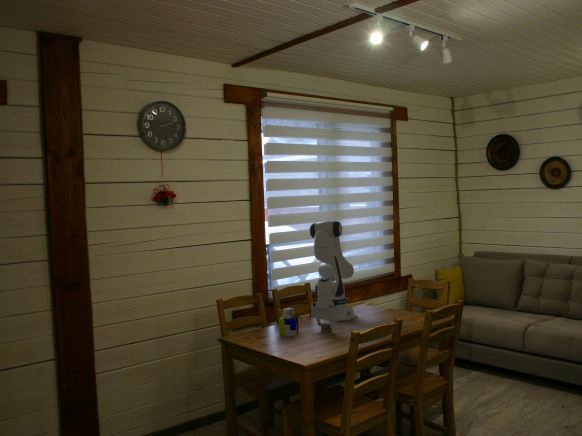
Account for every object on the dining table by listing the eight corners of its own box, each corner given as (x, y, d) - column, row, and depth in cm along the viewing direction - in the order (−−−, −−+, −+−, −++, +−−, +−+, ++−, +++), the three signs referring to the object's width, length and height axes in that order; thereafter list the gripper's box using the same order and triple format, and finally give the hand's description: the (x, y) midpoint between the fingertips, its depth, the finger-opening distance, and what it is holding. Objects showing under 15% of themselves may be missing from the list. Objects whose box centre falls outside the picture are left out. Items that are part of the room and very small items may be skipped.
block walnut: (325, 330, 324) (325, 322, 324) (331, 331, 321) (331, 323, 321) (321, 332, 321) (320, 324, 321) (326, 333, 318) (326, 325, 318)
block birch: (288, 316, 323) (288, 307, 322) (294, 317, 319) (293, 308, 319) (282, 317, 319) (282, 309, 319) (288, 318, 316) (288, 309, 315)
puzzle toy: (295, 336, 313) (295, 319, 313) (279, 335, 315) (278, 319, 315) (298, 332, 323) (298, 316, 323) (283, 331, 325) (282, 315, 325)
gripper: (341, 305, 315) (341, 328, 315) (316, 301, 330) (316, 323, 330) (334, 306, 311) (334, 329, 311) (309, 303, 325) (309, 325, 325)
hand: (325, 326), depth 321 cm, fingers open, 8 cm apart
